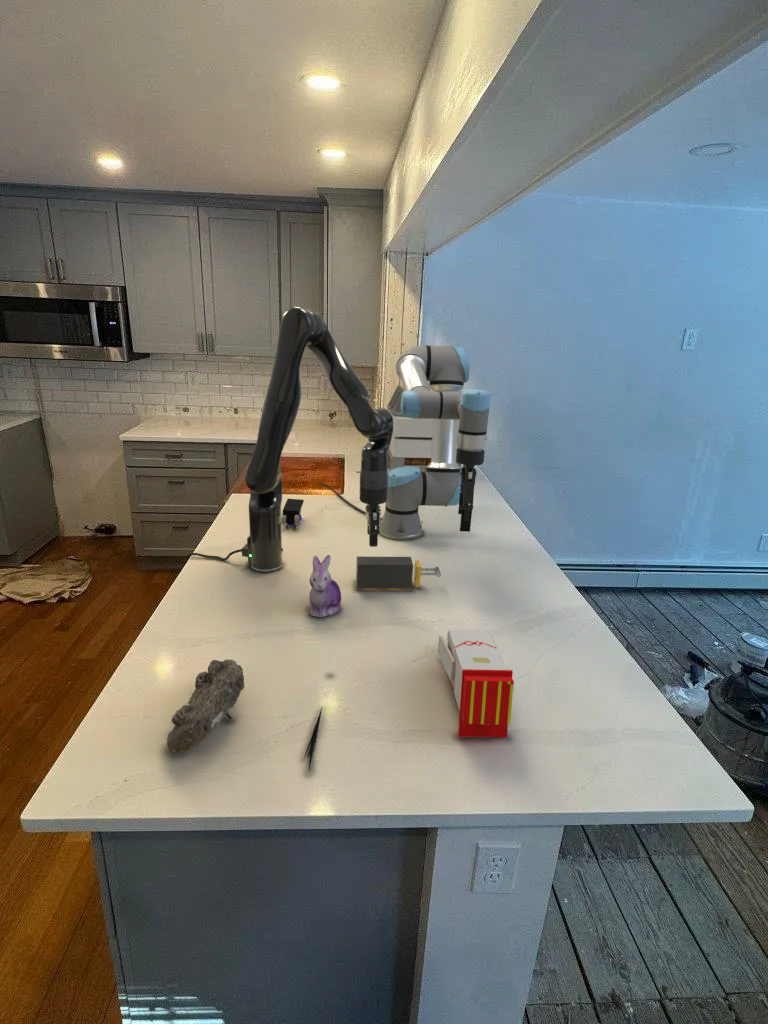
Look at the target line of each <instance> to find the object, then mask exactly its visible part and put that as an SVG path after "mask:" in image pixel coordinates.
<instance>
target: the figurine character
mask: <svg viewBox="0 0 768 1024" xmlns="http://www.w3.org/2000/svg"><path fill="white" fill-rule="evenodd" d="M304 501H305V499H300V498H299V499H298V498H286V502H285V503H284V506H283V508H282V514H281V526H285V530H288V529H289V526H290V527H293V530H296V529H297V526H299V525H300V522H301V521H302V520H303V517H302V514H303V513H302V508H303V504H304Z"/></svg>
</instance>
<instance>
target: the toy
mask: <svg viewBox="0 0 768 1024" xmlns="http://www.w3.org/2000/svg"><path fill="white" fill-rule="evenodd" d="M446 640H447V643H446V641H445V639H444V636H443V635H442V634H439V637H438V646H437V656H438V657H439V659H440V661H441V663H442V666H443V668H444V670H445V672H446V674H447V677H448V679H449V681H450V684H451V687H452V690H453V693H454V697H455V701H456V705H457V708H458V711H459V714H458V715H459V716H458V730H457V731H458V732H457V737H458V738H508V731H509V726H510V725H511V717H512V707H513V697H514V696H513V695H514V684H515V680H514V679H513V673H514V671H513V670H512V669H508V667H507V665H506V662H505V661H504V659H503V658H502V655H501V653H500V651H499V649H498V647H497V643H496V639H495V637H494V635H493V634H491V632H490V631H489V629H467V628H466V629H465V628H463V629H461V628H460V629H459V628H448V630H447V639H446Z"/></svg>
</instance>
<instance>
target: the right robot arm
mask: <svg viewBox="0 0 768 1024" xmlns="http://www.w3.org/2000/svg"><path fill="white" fill-rule="evenodd" d="M470 366H471V365H470V357H469V354H468V351H467V350H466V348H464V347H461V346H455V345H430V344H429V345H428V344H419V345H415V346H412V347H410V348H407V349H406V350H405V351H404V352H402V353H401V354H400V356H399V357H398V358H397V361H396V364H395V372H396V376H397V377H398V379H399V380H400V381H401V383H402V386H403V387H402V388H403V389H404V392H403V393H402V395H401V415H402V416H403V417H405V418H413V419H433V425H432V452H431V463H430V464H429V465H428V466H426V471H422V469H421V468H420V466H407V465H404V467H398V468H395V469H392V470H391V471H390V470H388V494H387V501H386V502H385V503H384V505H385V507H384V508H385V509H384V513H383V515H382V517H380V525H379V531H380V533H379V535H381V536H382V537H385V538H387V539H389V540H395V541H410V540H415V539H418V538H420V537H421V536H422V535H423V520H421V518H420V515H419V507H420V506H427V507H428V506H429V507H456V506H457V505H458V510H457V511H458V512H457V514H458V515H460V523H459V532H467V533H470V532H471V525H472V517H473V509H474V498H475V497H474V495H475V485H476V477H477V469H476V468H475V467H476V466H481V465H483V464H484V462H485V453H486V451H485V450H484V449H485V448H486V442H487V441H489V437H488V436H487V434H488V433H487V432H488V426H489V425H488V424H489V415H490V407H491V393H490V392H489V391H488V390H484V389H479V388H466V389H464V388H465V387H464V385H465V383H468V381H470V380H469V379H470V373H471V371H470V370H471V367H470ZM463 389H464V390H463ZM458 420H459V431H458V438H457V425H458ZM457 446H458V447H459V448H458V449H457ZM456 449H457V452H456ZM456 461H457V462H458V463H460V464H461V465H462V467H461V472H460V467H459V466H458V465H457V463H456ZM318 484H320V485H322V486H324V487H326V488H327V489H328V490H330V491H332V493H334V494H335V495H336V496H338V497H339V498H340V499H341V500H343V501H344V502H345V503H346V504H348V505H349V506H350V507H352V508H353V509H355V510H356V511H358V512H360V513H362V514H364V515H366V510H362V509H360V508H359V507H357V506H356V505H354V504H353V503H351V502H349V501H348V500H347V499H345V498H344V497H343V496H342V495H341V494H340V493H338V492H337V491H336V490H335V489H333V488H332V487H330V486H329V485H327V484H325V483H323V482H321V481H318Z"/></svg>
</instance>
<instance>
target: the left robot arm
mask: <svg viewBox="0 0 768 1024" xmlns="http://www.w3.org/2000/svg"><path fill="white" fill-rule="evenodd" d="M277 338H278V339H277V345H276V352H275V358H274V363H273V366H272V370H271V374H270V379H269V383H268V387H267V390H266V394H265V397H264V402H263V406H262V410H261V415H260V420H259V426H258V432H257V439H256V442H255V446H254V450H253V453H252V455H251V458H250V461H249V463H248V466H247V468H246V471H245V475H244V479H245V484H246V487H247V488H248V489H249V490H250V495H249V501H248V522H249V523H248V524H249V536H248V537H247V538H246V544H245V545H244V546H243V547H242V548H240V549H236V550H233V551H230V553H228V554H227V556H226V557H224V558H223V557H221V556H219V555H207V554H203V553H198V552H191V553H188V554H186V556H185V558H190V557H191V556H198V557H201V558H206V559H207V558H208V559H217V560H219V561H221V562H222V561H224V562H226V561H227V560H228V559H230V557H231V556H232V555H234V554H237V553H241V557H245V558H247V567H248V568H251V569H252V570H254V571H256V572H259V573H270V572H271V573H272V572H275V571H278V570H279V569H281V568H282V567H283V553H284V549H283V537H282V536H283V535H282V533H283V532H282V524H281V520H282V502H283V471H282V467H281V465H280V463H281V457H282V454H283V450H284V448H285V445H286V443H287V441H288V439H289V437H290V434H291V432H292V431H293V427H294V424H295V422H296V419H297V416H298V412H299V409H300V404H301V400H302V383H301V374H300V373H301V370H300V369H301V362H302V359H303V355H304V352H305V349H306V347H307V348H308V349H309V350H310V351H311V352H312V353H313V355H314V356H316V357H317V359H318V361H319V362H320V363H321V365H322V367H323V369H324V371H325V373H326V376H327V379H328V381H329V383H330V385H331V387H332V389H333V391H334V392H335V393H336V395H337V396H338V397H339V399H340V400H341V401H342V403H343V404H344V405H345V407H346V408H347V411H348V414H349V417H350V419H351V420H352V423H353V425H354V427H355V429H356V430H357V431H358V433H359V434H360V435H361V436H362V437H364V438H366V439H368V440H367V442H366V444H365V445H364V446H363V447H362V449H361V454H360V455H361V456H360V472H359V501H360V502H361V503H362V504H364V505H365V506H364V507H365V512H366V514H365V517H366V525H367V528H366V529H367V530H366V531H367V532H366V533H367V535H368V536H369V537H368V539H369V540H368V545H369V547H373V548H374V547H375V548H376V547H378V542H379V541H378V540H379V535H380V531H379V526H380V523H381V520H380V518H381V514H382V509H381V505H384V504H386V501H387V494H388V473H389V470H388V468H389V467H388V450H389V447H390V443H391V438H392V434H393V428H394V422H393V417H392V415H391V413H390V412H389V411H388V410H387V408H386V407H377V408H372V406H371V404H370V402H369V400H370V397H371V394H370V391H369V390H368V388H367V386H366V385H365V384H364V382H363V381H362V380H361V379H360V377H359V376H358V375H357V373H356V372H355V371H354V369H353V367H351V365H350V364H349V363H348V361H347V359H346V358H345V357H344V355H343V353H342V352H341V349H340V348H339V346H338V345H337V343H336V342H335V340H334V338H333V336H332V334H331V332H330V330H329V328H328V326H327V324H326V323H325V321H324V319H323V317H322V316H321V315H320V314H319V313H318V312H317V311H314V310H311V309H309V308H305V307H301V306H293V307H290V308H288V310H287V311H285V313H284V314H283V316H282V319H281V321H280V325H279V331H278V337H277Z"/></svg>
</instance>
